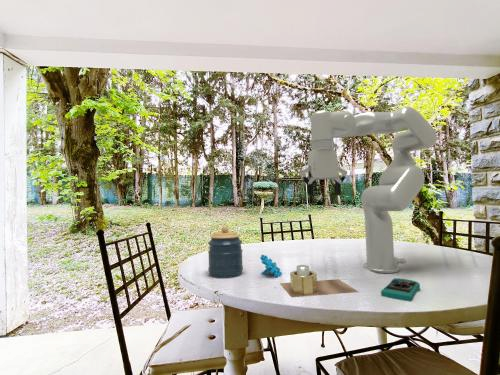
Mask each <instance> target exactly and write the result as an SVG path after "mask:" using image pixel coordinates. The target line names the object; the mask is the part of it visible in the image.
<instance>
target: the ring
mask: <svg viewBox="0 0 500 375" xmlns="http://www.w3.org/2000/svg"><path fill="white" fill-rule="evenodd" d="M289 274H290V279H289V280H290V283H291V291H292V292H293V293H296V294H301V295H310V294H314V293H316V292H317V281H318V276H317V273H316V272H315V271H313V270H309V276H299V275H297V270H294V271H292V272H290V273H289Z"/></svg>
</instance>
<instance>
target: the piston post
mask: <svg viewBox="0 0 500 375" xmlns="http://www.w3.org/2000/svg"><path fill="white" fill-rule="evenodd" d="M296 271H297V275H299V276H309V271H310V267H309V265H305V264H299V265H296Z"/></svg>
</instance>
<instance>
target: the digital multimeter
mask: <svg viewBox="0 0 500 375" xmlns="http://www.w3.org/2000/svg"><path fill="white" fill-rule="evenodd" d="M420 290H421V284H420V282H418V281H416V280H412V279H406V278H396V277H395V278H392V279H391V281H390V282H389V283H388V284H387V285H386V286H385V287H384V288H382V289H381V290H380V296H381V297H385V298H388V299H393V300H400V301H407V302H412V300H413V299H414V296H415V295H416V293H417V292H419V291H420Z"/></svg>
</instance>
